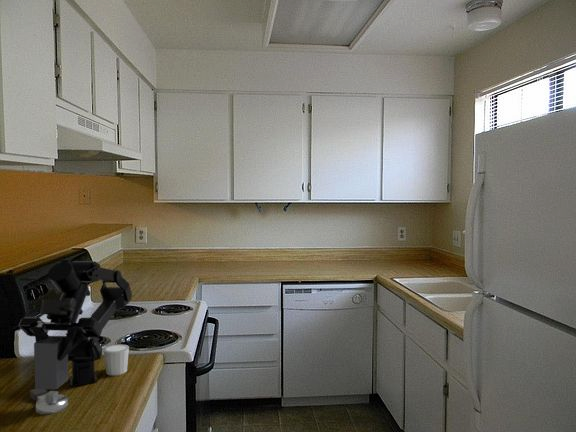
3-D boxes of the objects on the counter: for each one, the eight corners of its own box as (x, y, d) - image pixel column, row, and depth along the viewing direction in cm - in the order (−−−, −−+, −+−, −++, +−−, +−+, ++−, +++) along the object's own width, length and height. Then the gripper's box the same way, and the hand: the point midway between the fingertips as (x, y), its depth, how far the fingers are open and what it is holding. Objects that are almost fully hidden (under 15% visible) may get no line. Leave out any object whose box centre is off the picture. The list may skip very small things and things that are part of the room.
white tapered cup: (111, 366, 131) (111, 343, 131) (133, 367, 130) (133, 344, 130) (99, 375, 124) (98, 351, 124) (122, 376, 124) (121, 352, 123)
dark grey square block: (47, 379, 108) (46, 335, 108) (68, 379, 108) (67, 336, 108) (35, 388, 103) (33, 343, 102) (56, 389, 103) (55, 343, 102)
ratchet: (72, 406, 106) (72, 392, 106) (42, 417, 101) (42, 402, 101) (50, 390, 115) (49, 376, 115) (21, 399, 110) (21, 385, 110)
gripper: (21, 285, 108) (-8, 344, 98) (96, 286, 108) (74, 345, 98) (41, 307, 117) (15, 364, 106) (110, 308, 116) (91, 365, 106)
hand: (48, 359), depth 104 cm, fingers closed on dark grey square block, 5 cm apart
